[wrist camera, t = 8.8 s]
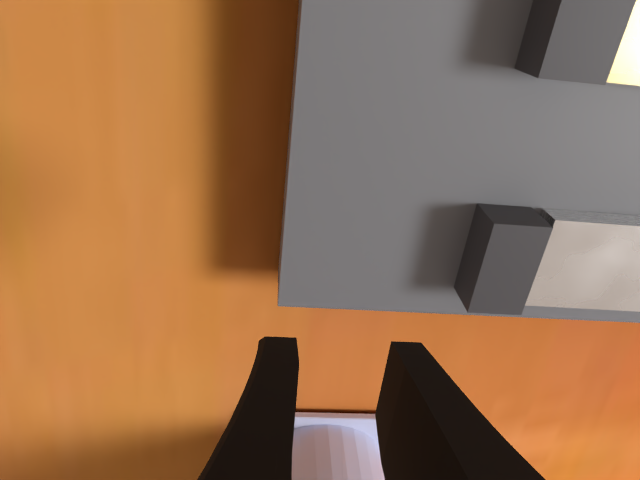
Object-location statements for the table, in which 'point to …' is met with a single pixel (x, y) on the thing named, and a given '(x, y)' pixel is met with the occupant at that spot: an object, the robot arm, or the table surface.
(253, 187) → the table surface
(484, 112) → the mounting plate
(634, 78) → the bar
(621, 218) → the bar
